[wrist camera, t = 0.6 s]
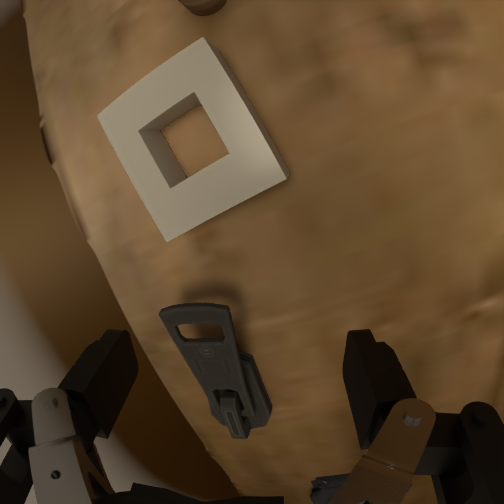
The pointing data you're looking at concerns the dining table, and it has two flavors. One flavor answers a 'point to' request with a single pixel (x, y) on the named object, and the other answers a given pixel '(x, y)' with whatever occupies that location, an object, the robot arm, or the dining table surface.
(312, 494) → the dark slate chunk
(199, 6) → the beech dowel
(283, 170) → the well block
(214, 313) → the zipper pull
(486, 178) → the dining table surface
